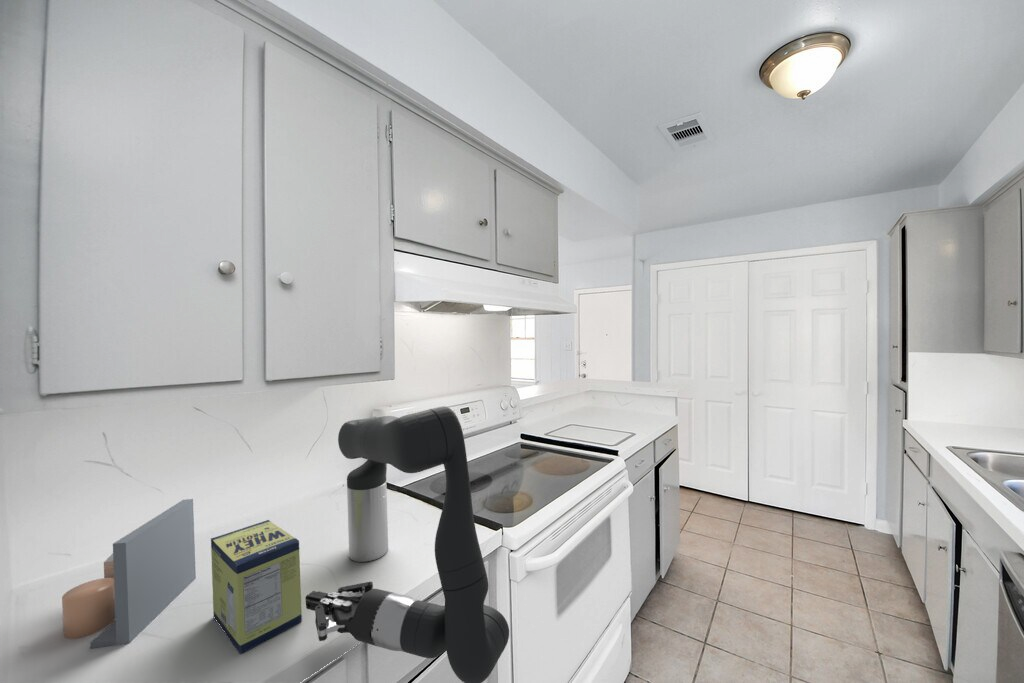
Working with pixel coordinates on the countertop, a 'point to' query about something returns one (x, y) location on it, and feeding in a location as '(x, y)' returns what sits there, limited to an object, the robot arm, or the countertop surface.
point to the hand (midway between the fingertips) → (308, 598)
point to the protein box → (256, 583)
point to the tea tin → (109, 568)
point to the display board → (150, 572)
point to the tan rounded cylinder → (88, 608)
